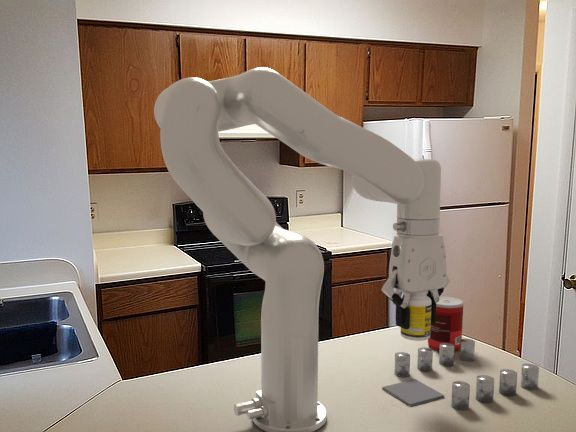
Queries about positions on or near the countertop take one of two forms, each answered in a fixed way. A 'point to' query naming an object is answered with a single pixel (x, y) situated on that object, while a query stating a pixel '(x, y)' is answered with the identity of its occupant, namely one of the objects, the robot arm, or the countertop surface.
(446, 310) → the canned food
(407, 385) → the mat
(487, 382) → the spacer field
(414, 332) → the supplement bottle
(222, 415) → the countertop surface
